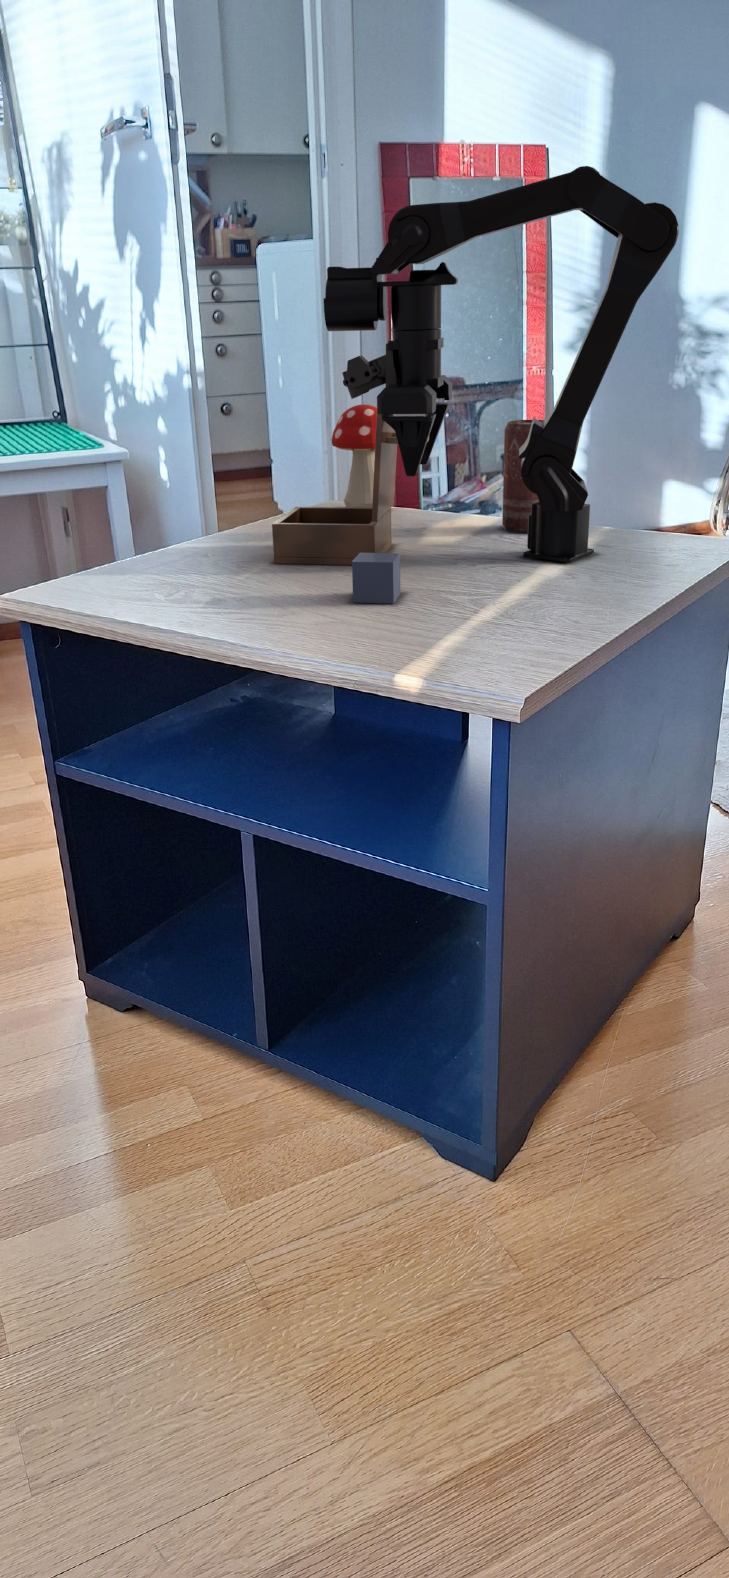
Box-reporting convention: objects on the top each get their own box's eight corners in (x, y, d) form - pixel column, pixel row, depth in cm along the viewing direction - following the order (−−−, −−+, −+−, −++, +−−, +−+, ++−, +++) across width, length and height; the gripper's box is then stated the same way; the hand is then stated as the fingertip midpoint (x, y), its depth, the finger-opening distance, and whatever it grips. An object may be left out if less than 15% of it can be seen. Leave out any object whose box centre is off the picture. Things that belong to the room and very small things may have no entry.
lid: (377, 402, 126) (421, 405, 125) (394, 393, 136) (435, 396, 135) (371, 521, 132) (413, 525, 131) (388, 504, 142) (428, 507, 141)
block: (400, 593, 121) (400, 553, 119) (393, 603, 117) (393, 562, 116) (361, 592, 122) (360, 552, 120) (353, 602, 118) (351, 561, 116)
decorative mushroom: (407, 506, 169) (406, 402, 163) (384, 516, 162) (382, 408, 156) (348, 502, 173) (345, 401, 167) (323, 512, 166) (319, 407, 160)
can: (552, 532, 148) (557, 423, 143) (504, 534, 149) (507, 424, 143) (546, 524, 154) (550, 417, 148) (500, 525, 154) (502, 419, 148)
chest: (274, 563, 136) (271, 524, 134) (297, 543, 146) (295, 506, 144) (375, 565, 134) (374, 525, 132) (391, 545, 144) (391, 507, 142)
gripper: (363, 328, 137) (366, 458, 144) (329, 334, 121) (334, 482, 127) (452, 326, 135) (452, 459, 142) (431, 332, 119) (431, 482, 125)
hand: (416, 470), depth 134 cm, fingers open, 9 cm apart
